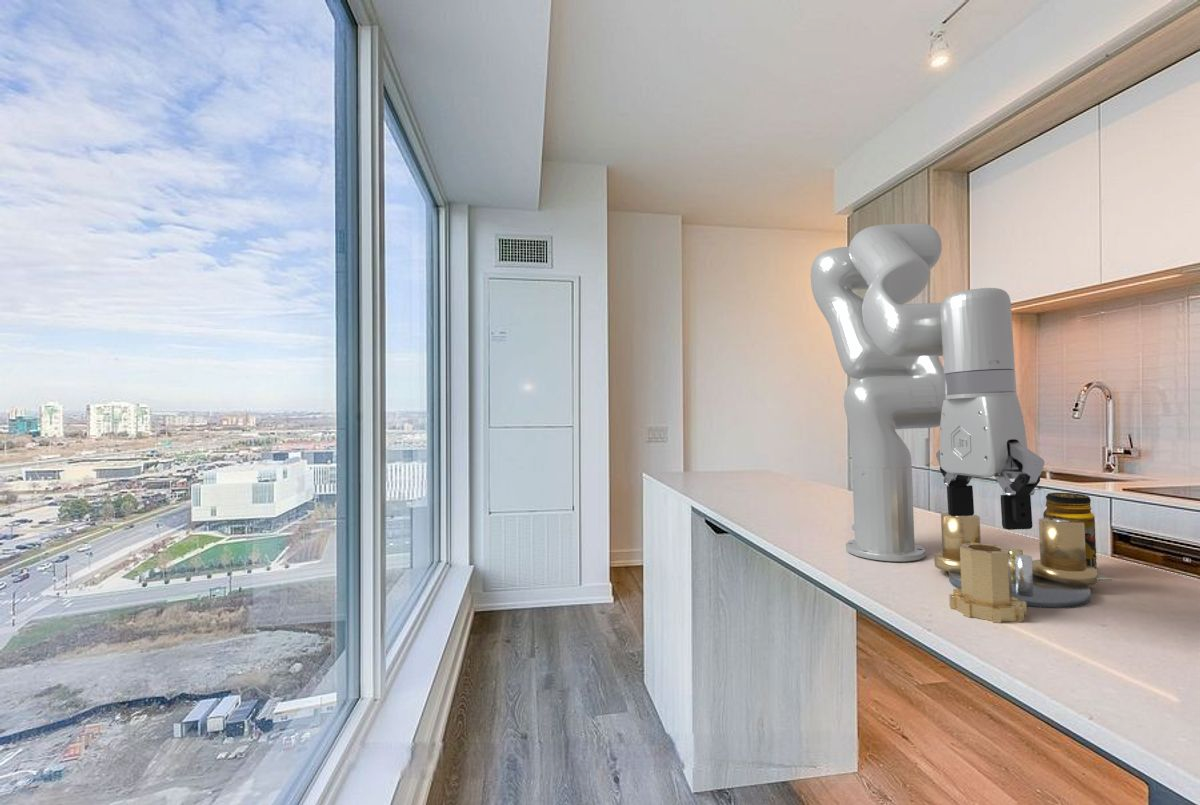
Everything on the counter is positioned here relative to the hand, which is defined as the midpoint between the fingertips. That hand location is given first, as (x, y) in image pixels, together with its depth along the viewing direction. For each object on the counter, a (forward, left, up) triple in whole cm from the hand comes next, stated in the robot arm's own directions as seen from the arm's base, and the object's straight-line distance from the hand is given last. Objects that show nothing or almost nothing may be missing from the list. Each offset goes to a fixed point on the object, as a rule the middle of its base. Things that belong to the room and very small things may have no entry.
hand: (987, 521), depth 69 cm
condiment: (-15, +23, -12) cm, 29 cm away
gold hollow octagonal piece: (-1, 0, -12) cm, 12 cm away
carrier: (-10, +11, -12) cm, 19 cm away
